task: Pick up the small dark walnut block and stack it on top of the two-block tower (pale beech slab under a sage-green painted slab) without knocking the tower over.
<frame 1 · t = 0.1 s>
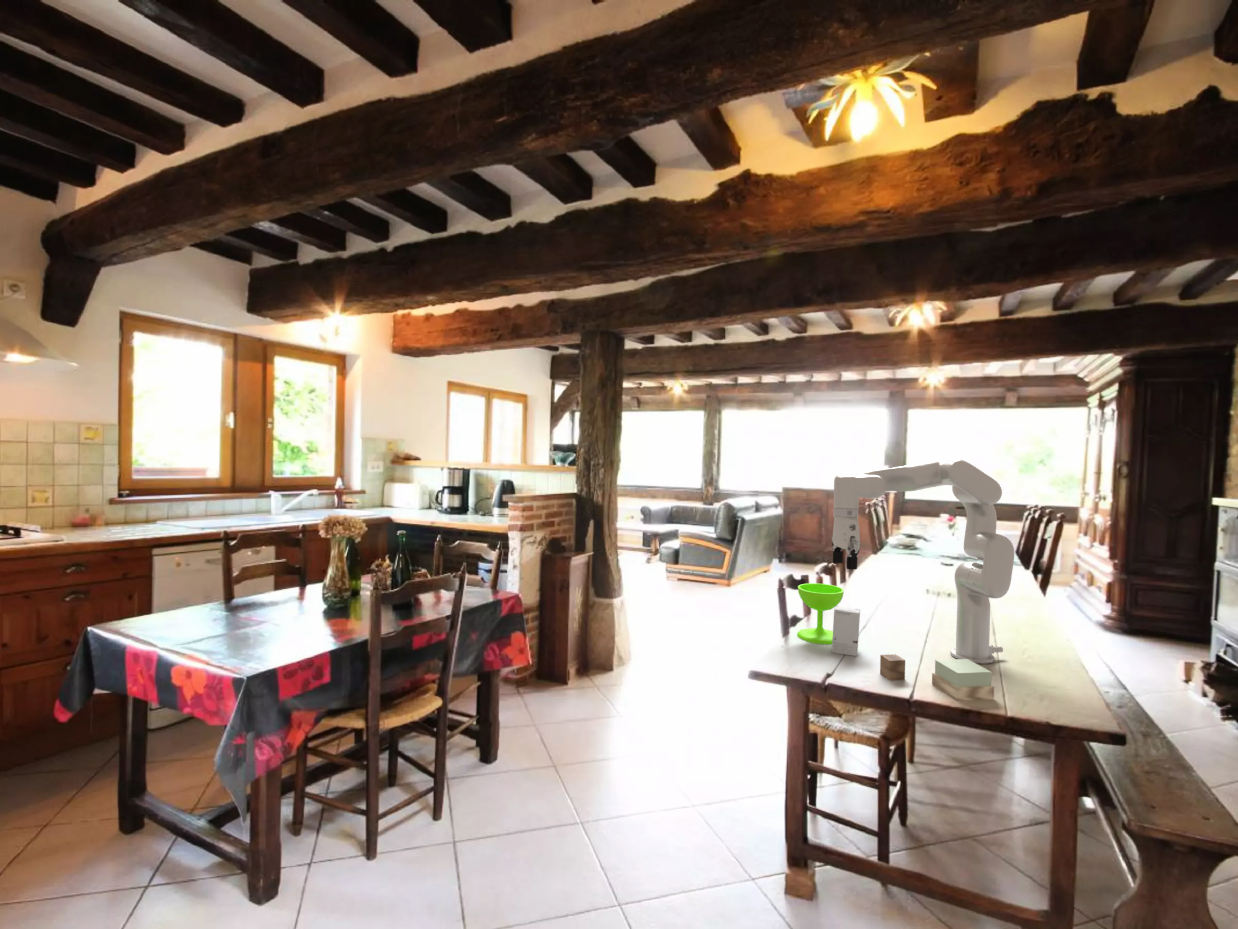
hand: (844, 566, 193), 31 cm above the table, fingers open, 9 cm apart
wineglass: (819, 637, 219), on the table
block top: (962, 679, 171), point 3 cm above the table, touching block bottom
walnut block: (892, 677, 181), on the table
skincare box: (845, 652, 203), on the table
block bottom: (961, 693, 171), on the table, touching block top
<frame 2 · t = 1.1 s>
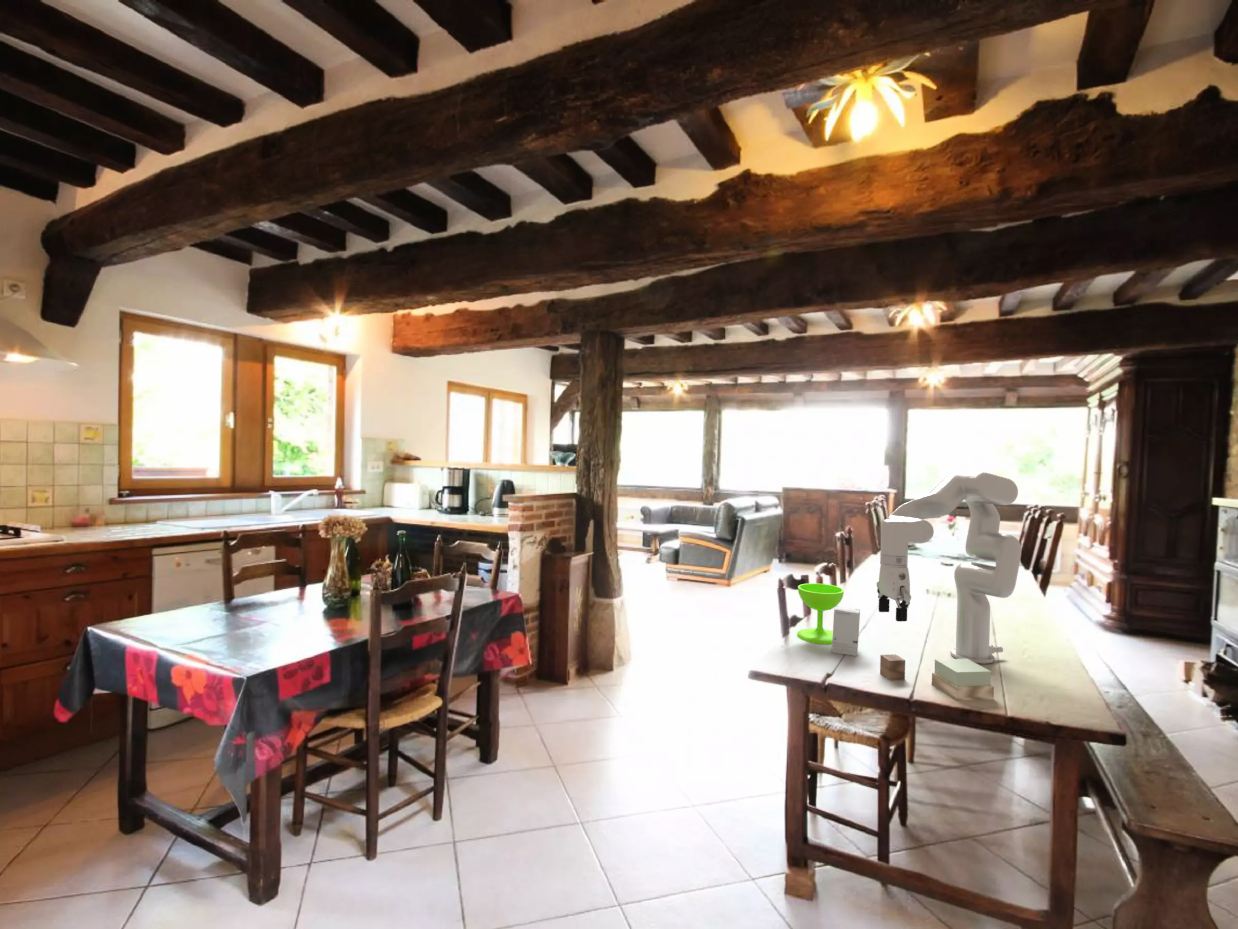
hand: (892, 616, 181), 18 cm above the table, fingers open, 9 cm apart
nothing on the table moved.
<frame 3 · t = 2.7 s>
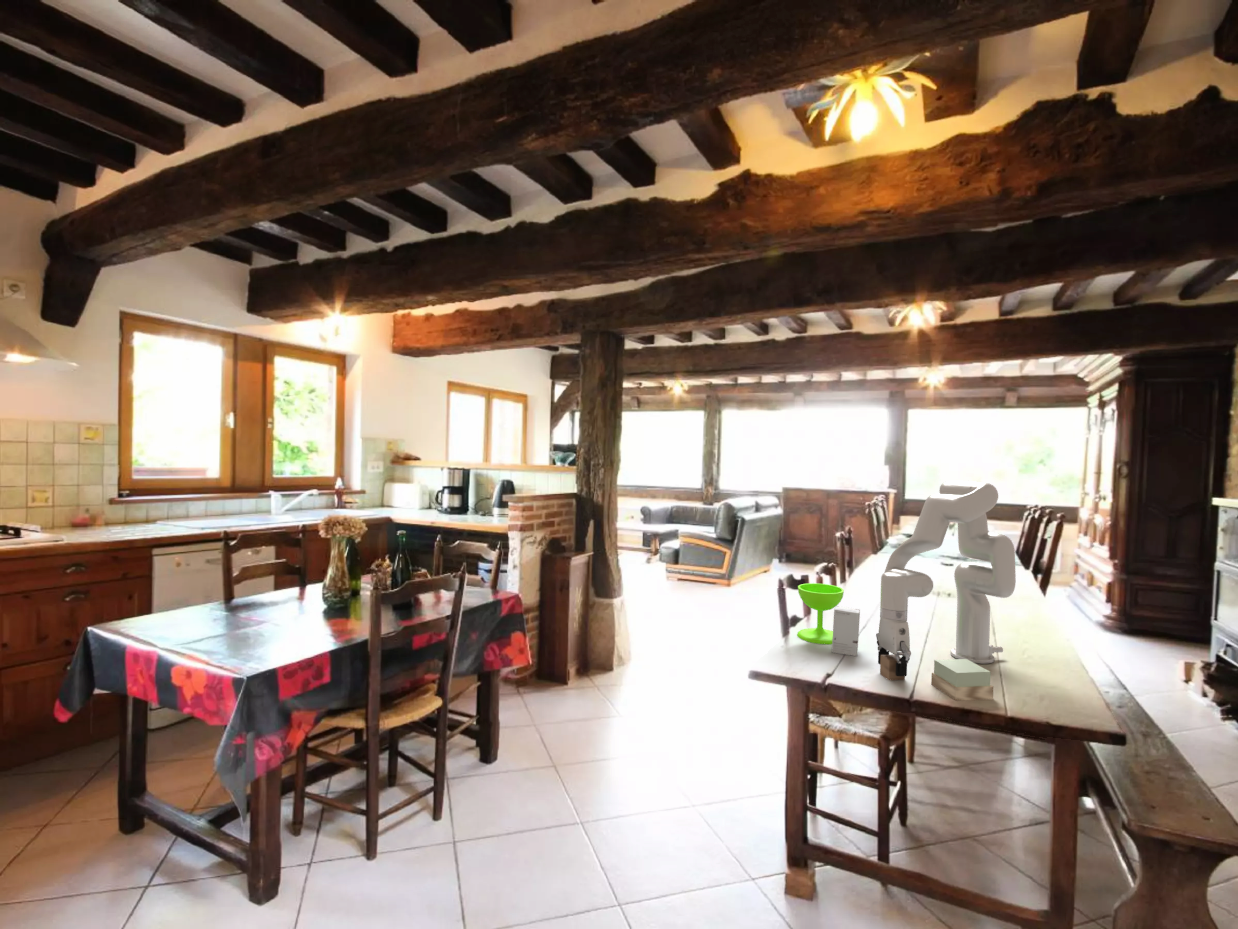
hand: (892, 669, 181), 2 cm above the table, fingers open, 9 cm apart
nothing on the table moved.
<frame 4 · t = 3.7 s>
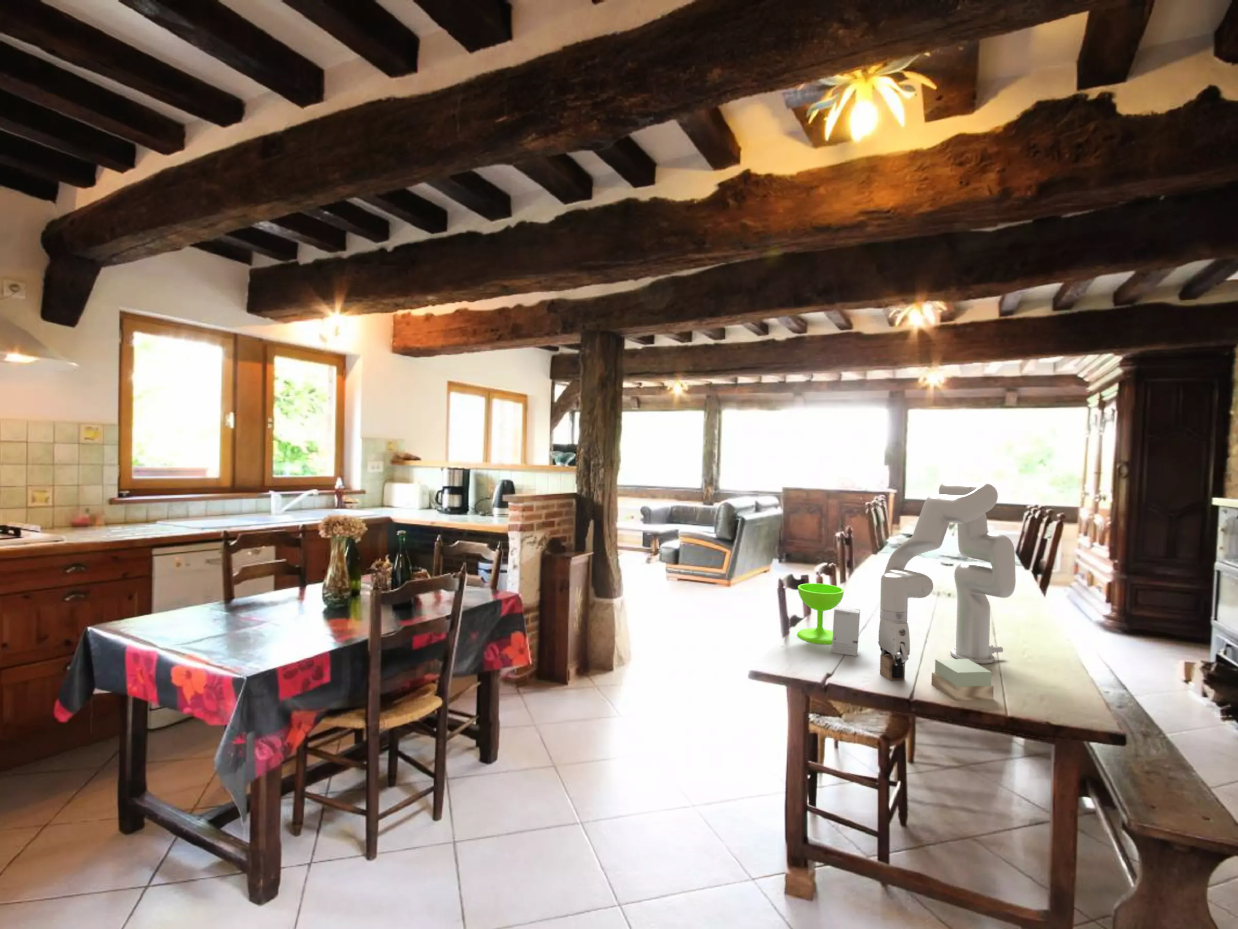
hand: (892, 673, 181), 1 cm above the table, fingers closed on walnut block, 5 cm apart
walnut block: (892, 676, 181), on the table, touching gripper
everything else where it was.
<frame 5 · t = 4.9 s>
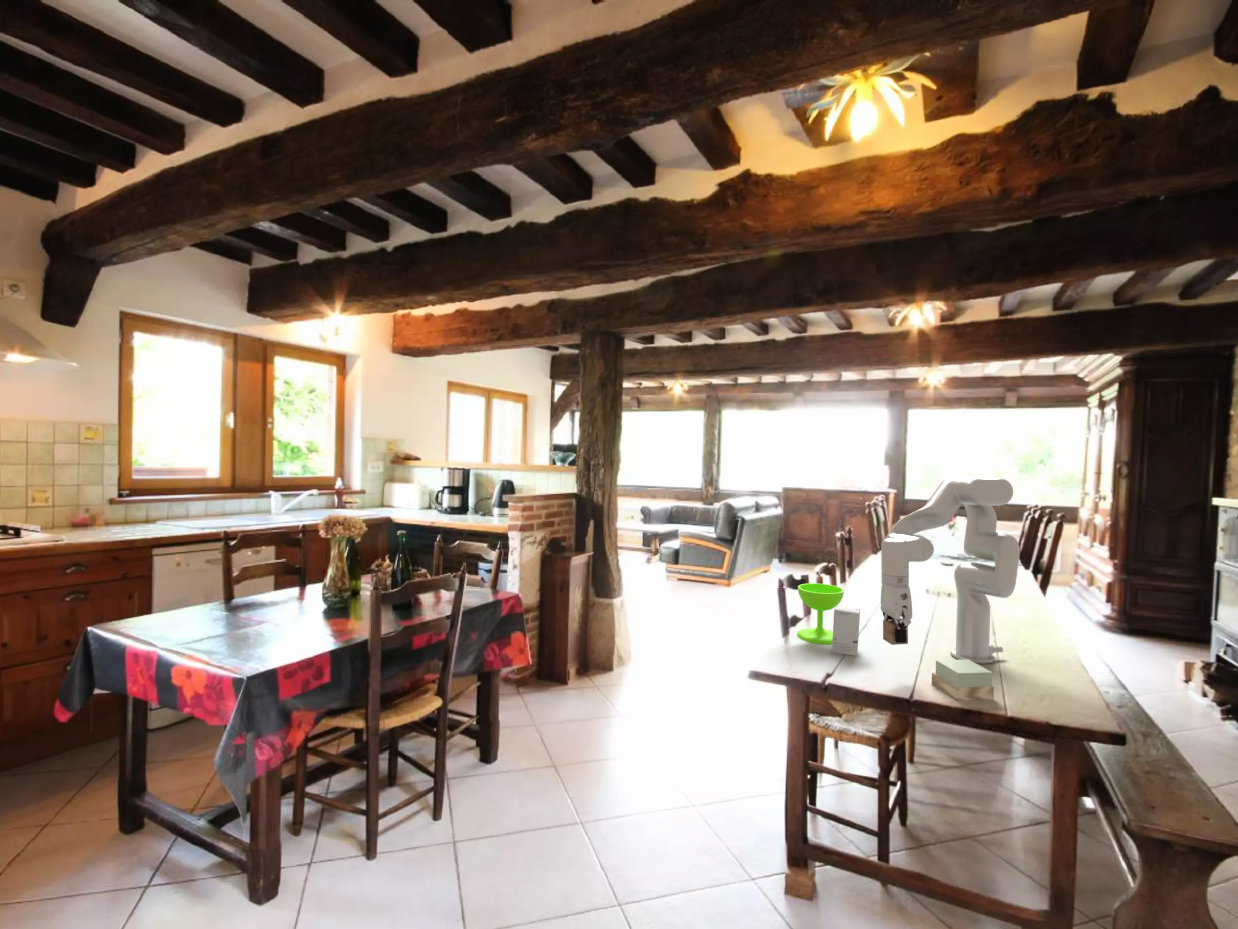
hand: (895, 638, 181), 12 cm above the table, fingers closed on walnut block, 5 cm apart
walnut block: (895, 641, 181), point 11 cm above the table, touching gripper
everything else where it was.
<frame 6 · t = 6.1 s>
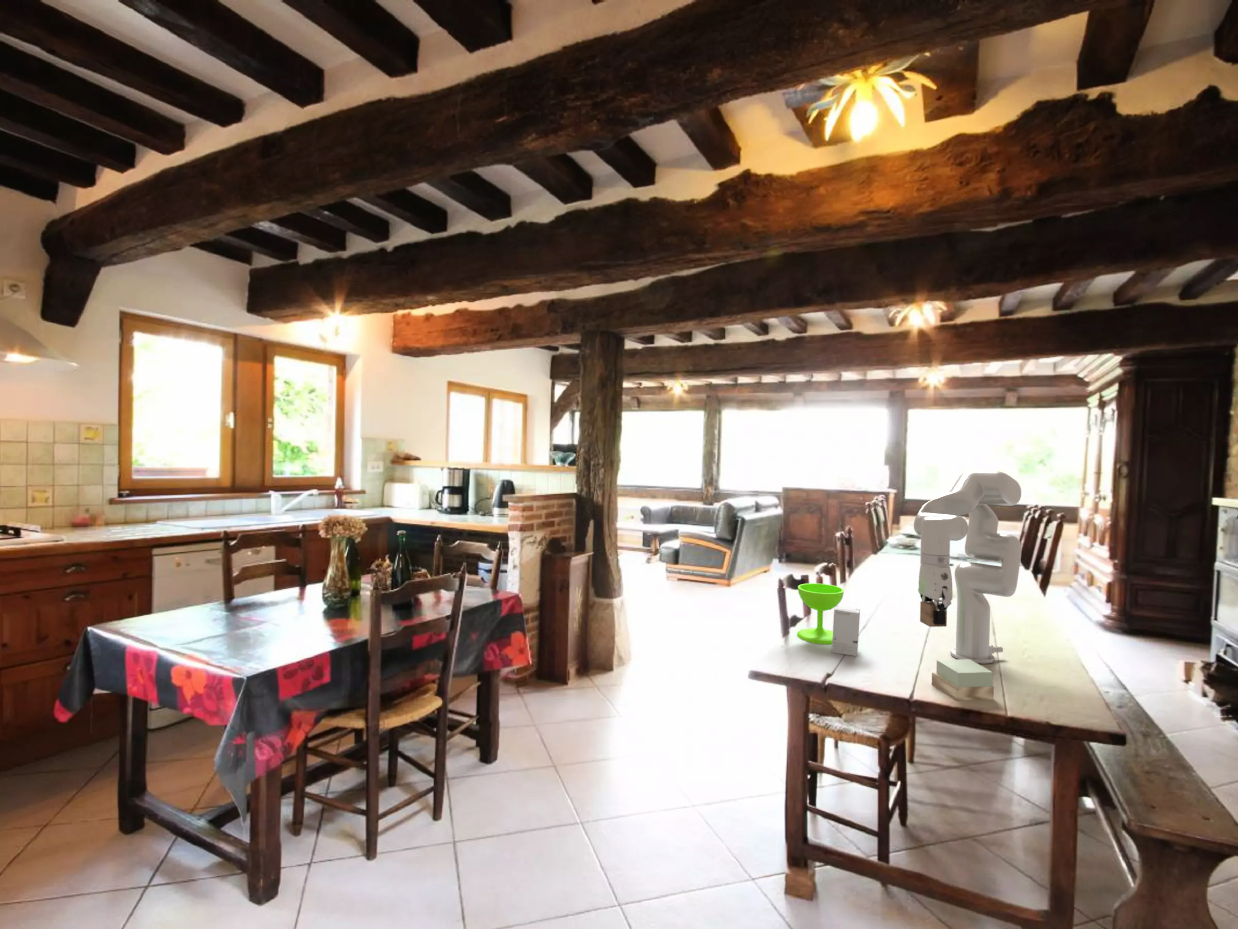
hand: (933, 620, 175), 19 cm above the table, fingers closed on walnut block, 5 cm apart
walnut block: (933, 624, 175), point 18 cm above the table, touching gripper
everything else where it was.
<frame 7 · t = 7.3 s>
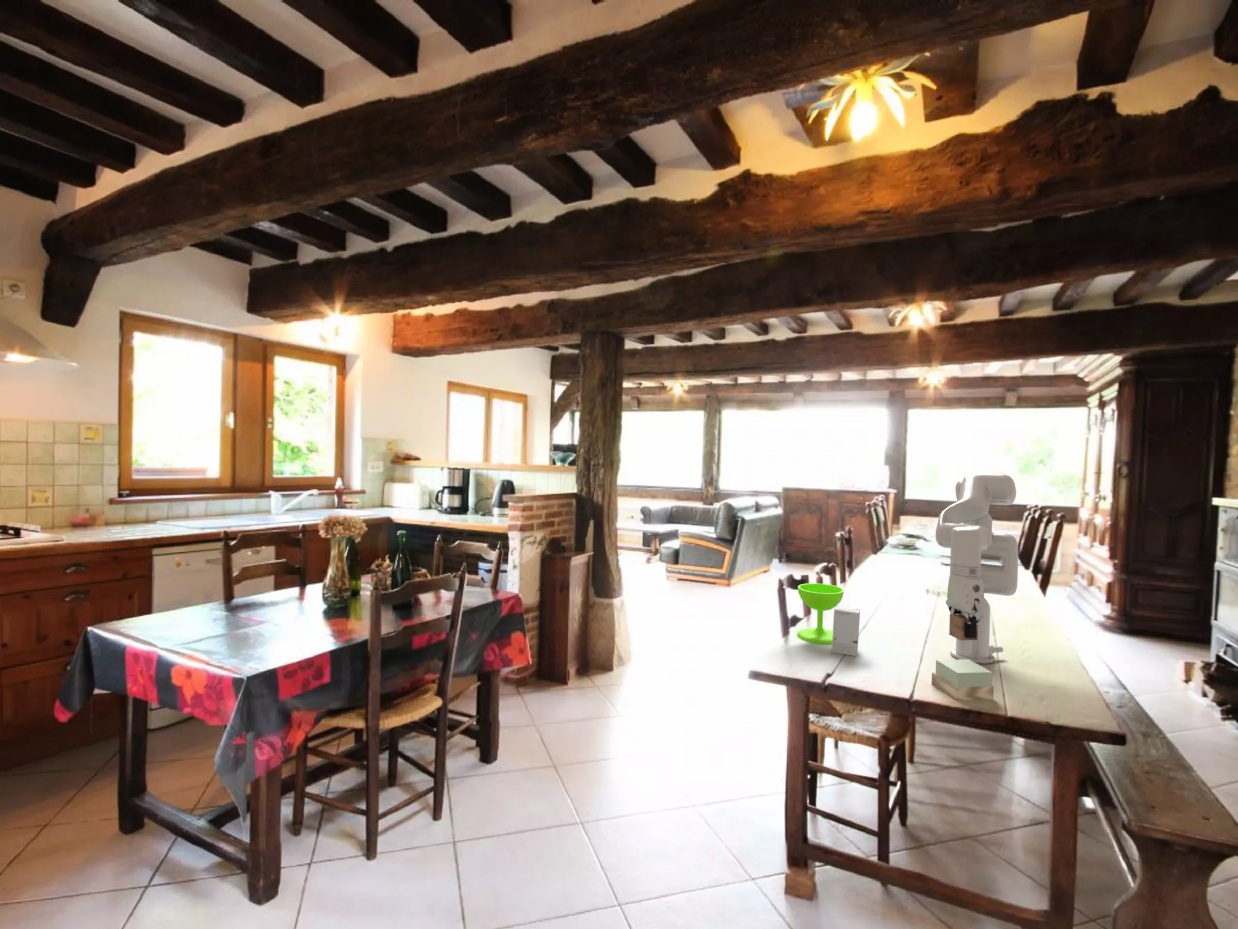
hand: (963, 633, 170), 17 cm above the table, fingers closed on walnut block, 5 cm apart
walnut block: (963, 637, 170), point 16 cm above the table, touching gripper
everything else where it was.
when the fingers open (10 cm above the table, at t = 9.2 s): walnut block drops 1 cm, point 8 cm above the table.
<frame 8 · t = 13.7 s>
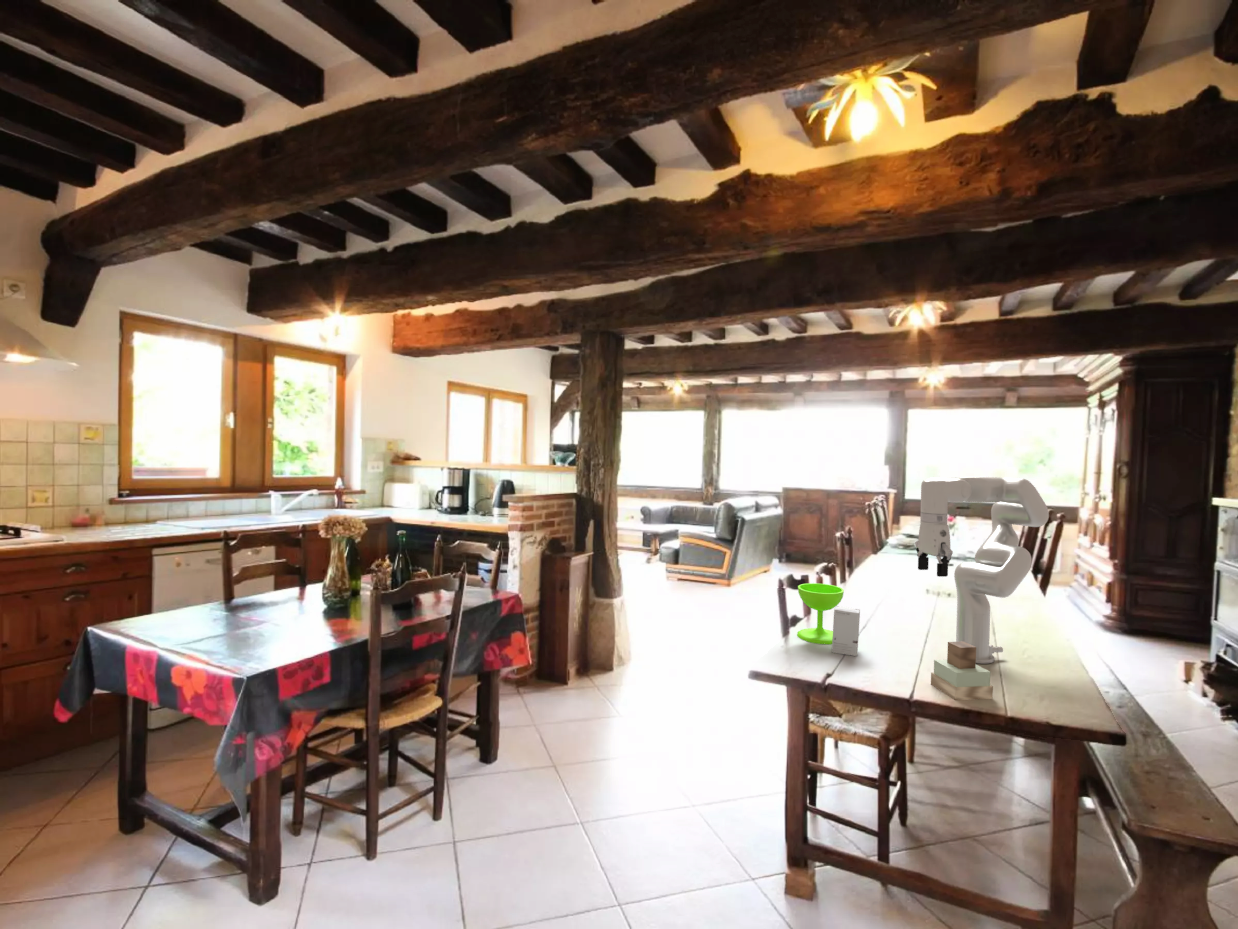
hand: (932, 572, 188), 30 cm above the table, fingers open, 9 cm apart
walnut block: (961, 665, 171), point 8 cm above the table
everything else where it was.
at the end: walnut block inside the target area on the block top (0.3 cm from its centre), point 4.0 cm above the block top's base; walnut block tilted 0°; block top tilted 0° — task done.
